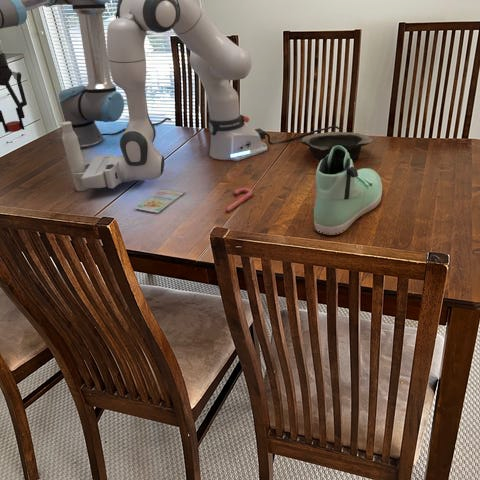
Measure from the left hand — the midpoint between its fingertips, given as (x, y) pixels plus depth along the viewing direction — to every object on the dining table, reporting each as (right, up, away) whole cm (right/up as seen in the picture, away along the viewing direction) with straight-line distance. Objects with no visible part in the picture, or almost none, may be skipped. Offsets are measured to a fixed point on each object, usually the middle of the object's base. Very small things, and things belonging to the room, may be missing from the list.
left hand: (14, 129), depth 154 cm
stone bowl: (+107, -6, +17) cm, 108 cm away
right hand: (+17, -13, +7) cm, 22 cm away
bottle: (+19, -18, +10) cm, 28 cm away
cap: (0, +2, -1) cm, 2 cm away
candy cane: (+72, -24, -7) cm, 76 cm away
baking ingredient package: (+47, -23, -3) cm, 53 cm away
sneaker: (+104, -26, -16) cm, 109 cm away
